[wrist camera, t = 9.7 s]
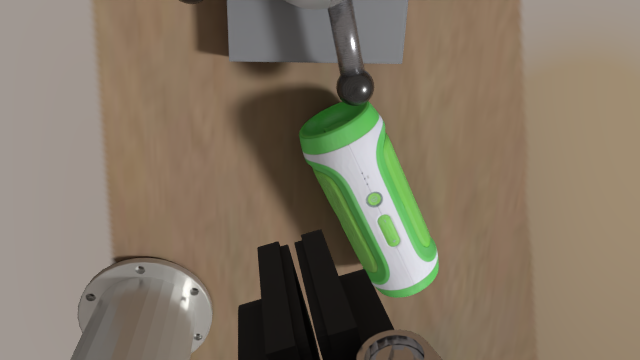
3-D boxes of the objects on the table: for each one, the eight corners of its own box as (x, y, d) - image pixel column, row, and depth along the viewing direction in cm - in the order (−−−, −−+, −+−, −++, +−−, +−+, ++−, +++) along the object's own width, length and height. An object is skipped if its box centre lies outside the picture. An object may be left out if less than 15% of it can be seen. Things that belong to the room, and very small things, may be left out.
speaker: (289, 123, 42) (297, 150, 35) (362, 87, 42) (384, 107, 35) (364, 268, 49) (383, 314, 42) (427, 238, 49) (456, 280, 42)
